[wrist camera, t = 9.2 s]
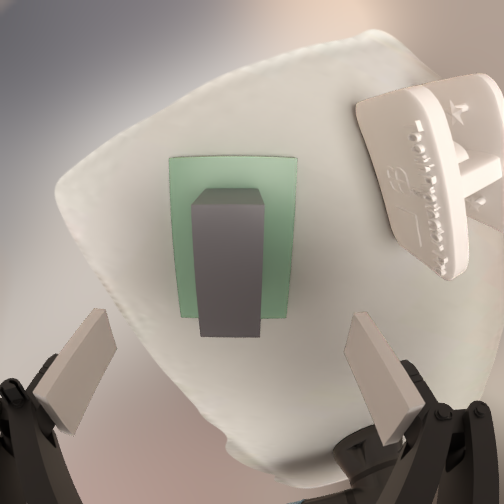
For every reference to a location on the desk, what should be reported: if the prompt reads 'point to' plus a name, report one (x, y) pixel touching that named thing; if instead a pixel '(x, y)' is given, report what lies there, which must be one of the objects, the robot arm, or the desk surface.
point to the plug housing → (228, 260)
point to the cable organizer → (438, 164)
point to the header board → (275, 219)
